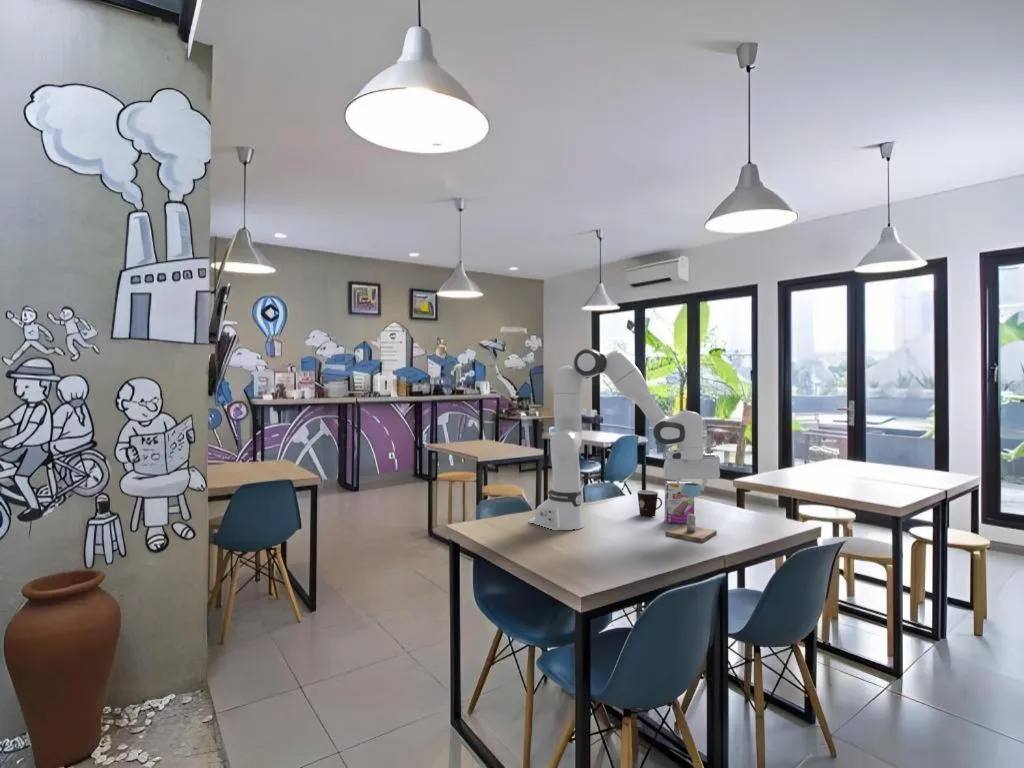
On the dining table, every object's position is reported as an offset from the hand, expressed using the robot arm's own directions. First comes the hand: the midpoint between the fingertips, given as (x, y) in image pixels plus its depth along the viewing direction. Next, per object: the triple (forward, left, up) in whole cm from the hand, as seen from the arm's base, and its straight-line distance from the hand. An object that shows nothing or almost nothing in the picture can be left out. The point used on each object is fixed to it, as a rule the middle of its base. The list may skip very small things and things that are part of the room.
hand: (691, 490), depth 201 cm
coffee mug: (-25, +16, -17) cm, 34 cm away
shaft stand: (0, 0, -17) cm, 17 cm away
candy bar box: (-11, +15, -17) cm, 25 cm away
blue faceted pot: (0, 0, -2) cm, 2 cm away
